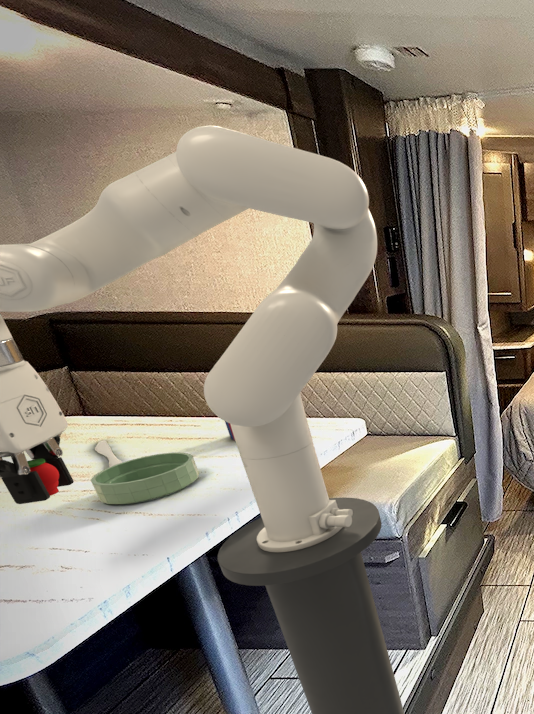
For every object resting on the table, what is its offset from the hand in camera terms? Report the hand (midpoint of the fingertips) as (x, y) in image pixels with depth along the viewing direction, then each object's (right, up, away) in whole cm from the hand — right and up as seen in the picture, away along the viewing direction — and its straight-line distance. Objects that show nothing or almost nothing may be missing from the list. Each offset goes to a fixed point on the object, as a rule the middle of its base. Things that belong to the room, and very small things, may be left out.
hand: (46, 492), depth 67 cm
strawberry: (0, 0, 0) cm, 0 cm away
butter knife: (-40, +3, +45) cm, 61 cm away
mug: (-16, +7, +54) cm, 57 cm away
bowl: (-15, -3, +30) cm, 34 cm away
